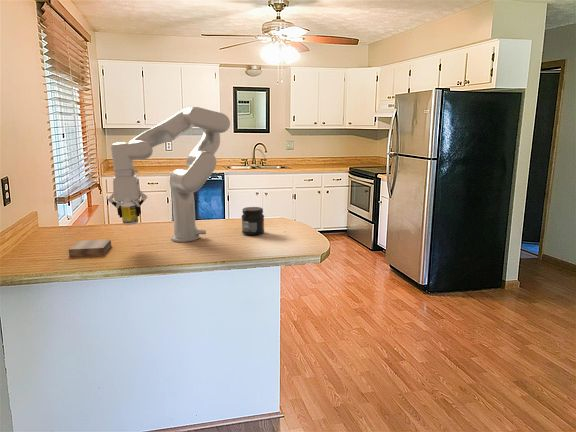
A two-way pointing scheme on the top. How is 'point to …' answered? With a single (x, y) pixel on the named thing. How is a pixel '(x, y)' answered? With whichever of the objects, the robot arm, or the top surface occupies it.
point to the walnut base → (90, 248)
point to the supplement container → (252, 221)
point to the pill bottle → (129, 212)
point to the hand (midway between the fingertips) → (129, 215)
